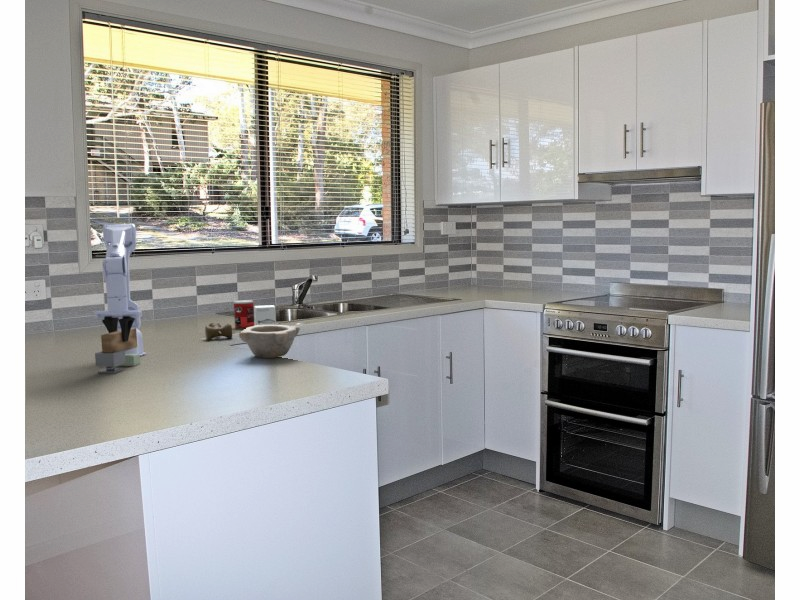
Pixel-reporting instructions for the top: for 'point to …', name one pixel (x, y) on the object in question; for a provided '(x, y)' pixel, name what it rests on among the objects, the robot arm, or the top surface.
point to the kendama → (218, 330)
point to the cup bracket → (110, 361)
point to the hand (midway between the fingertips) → (120, 341)
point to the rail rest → (131, 360)
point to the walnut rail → (118, 341)
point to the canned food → (244, 313)
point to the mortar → (269, 339)
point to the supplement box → (265, 315)
